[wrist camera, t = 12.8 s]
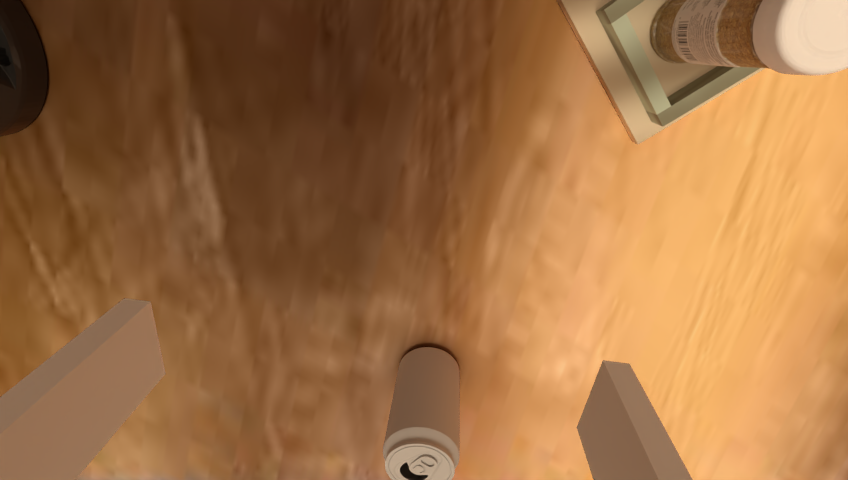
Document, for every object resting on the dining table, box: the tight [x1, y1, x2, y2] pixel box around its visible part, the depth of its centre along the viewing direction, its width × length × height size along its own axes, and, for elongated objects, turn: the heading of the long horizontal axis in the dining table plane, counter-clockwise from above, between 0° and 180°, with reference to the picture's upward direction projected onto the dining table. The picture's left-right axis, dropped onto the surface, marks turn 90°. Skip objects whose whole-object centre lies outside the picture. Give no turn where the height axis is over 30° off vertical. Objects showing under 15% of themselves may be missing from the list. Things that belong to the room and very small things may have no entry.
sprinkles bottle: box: [651, 0, 848, 75], centre depth 23 cm, size 5×5×13 cm
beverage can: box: [383, 347, 460, 480], centre depth 39 cm, size 6×6×12 cm
